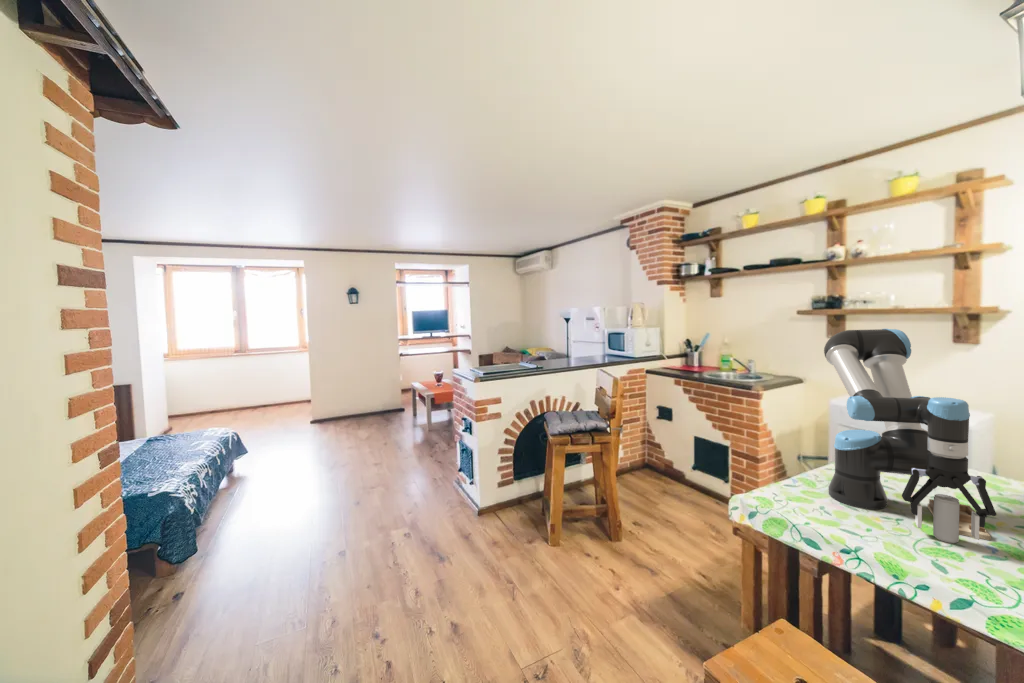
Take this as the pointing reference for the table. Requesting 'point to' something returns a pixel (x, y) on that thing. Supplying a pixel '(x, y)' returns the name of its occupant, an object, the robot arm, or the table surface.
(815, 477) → the table surface
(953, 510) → the beverage can
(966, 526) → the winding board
